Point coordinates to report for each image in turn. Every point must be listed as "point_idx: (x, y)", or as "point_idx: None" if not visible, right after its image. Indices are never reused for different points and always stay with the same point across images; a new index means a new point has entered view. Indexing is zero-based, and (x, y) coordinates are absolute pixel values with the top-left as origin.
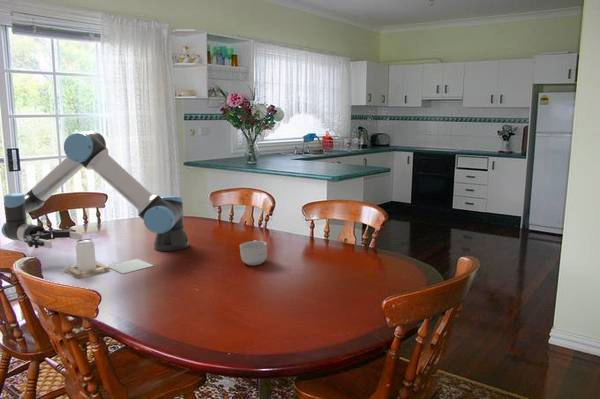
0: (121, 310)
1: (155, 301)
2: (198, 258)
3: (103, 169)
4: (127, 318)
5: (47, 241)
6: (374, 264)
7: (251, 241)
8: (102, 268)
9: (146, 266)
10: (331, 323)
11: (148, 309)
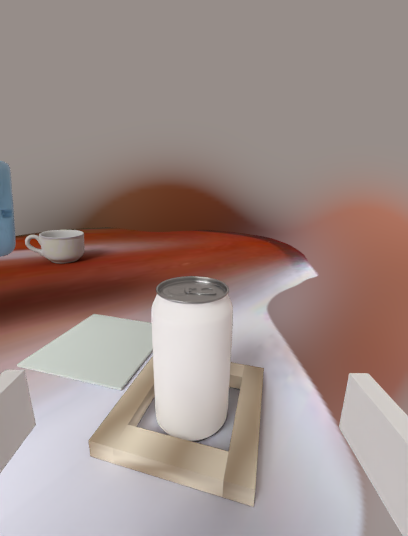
0: (285, 275)
1: (241, 269)
2: (28, 292)
3: None
4: (291, 268)
5: (388, 400)
6: None
7: (40, 235)
8: None
9: (104, 318)
10: (201, 234)
11: (261, 267)
